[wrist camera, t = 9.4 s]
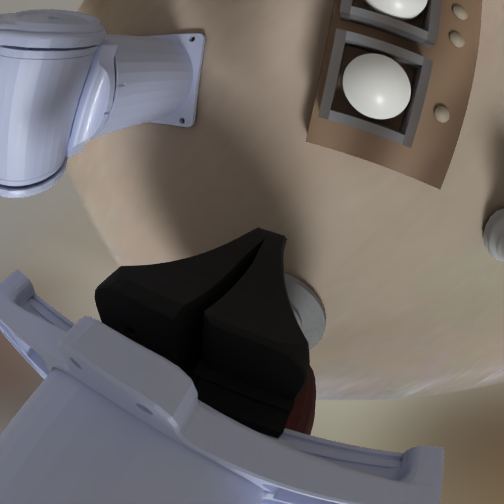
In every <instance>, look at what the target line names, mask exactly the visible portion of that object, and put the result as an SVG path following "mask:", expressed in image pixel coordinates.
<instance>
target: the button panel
mask: <svg viewBox="0 0 504 504" xmlns="http://www.w3.org/2000/svg"><path fill="white" fill-rule="evenodd" d="M481 12H482V0H427V4H426V6H425V8H424V9H423V10H422V11H421V12H420V13H419V15H418V16H417V17H416V18H415V19H413V20H411V21H409V22H403V21H400V20H397V19H394V18H391V17H388V16H385V15H382V14H379V13H376V12H372V11H370V10H369V9H368V8H367V7H366V5H365V4H364V2H363V0H334V6H333V11H332V17H331V22H330V28H329V33H328V38H327V43H326V48H325V53H324V58H323V63H322V68H321V73H320V78H319V83H318V88H317V92H316V97H315V102H314V106H313V111H312V116H311V120H310V125H309V129H308V134H307V138H306V142H310V143H313V144H317V145H320V146H324V147H327V148H330V149H334V150H337V151H340V152H343V153H347V154H350V155H353V156H356V157H359V158H362V159H365V160H368V161H370V162H373V163H376V164H379V165H382V166H384V167H387V168H390V169H392V170H395V171H397V172H400V173H403V174H405V175H408V176H410V177H412V178H415V179H417V180H420V181H422V182H424V183H427V184H429V185H431V186H434V187H436V188H438V189H441V186H442V184H443V181H444V178H445V176H446V173H447V170H448V167H449V165H450V162H451V159H452V156H453V153H454V150H455V147H456V144H457V141H458V137H459V134H460V131H461V127H462V124H463V120H464V116H465V113H466V109H467V105H468V100H469V96H470V92H471V87H472V82H473V77H474V72H475V66H476V60H477V53H478V46H479V37H480V27H481ZM370 53H374V54H381V55H384V56H387V57H389V58H391V59H393V60H394V61H395V62H397V63H398V64H399V65H400V66H401V67H402V68H403V70H404V71H405V73H406V74H407V76H408V79H409V82H410V86H411V95H410V100H409V102H408V104H407V106H406V108H405V109H404V110H403V111H402V112H401V113H400V114H398V115H397V116H395V117H392V118H388V119H374V118H371V117H368V116H365V115H364V114H362V113H360V112H359V111H357V110H356V109H355V108H354V107H353V106H352V105H351V103H350V102H349V101H348V99H347V97H346V95H345V92H344V89H343V75H344V71H345V69H346V67H347V66H348V64H349V63H350V62H351V61H352V60H353V59H355V58H356V57H358V56H361V55H364V54H370Z"/></svg>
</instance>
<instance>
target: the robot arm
mask: <svg viewBox="0 0 504 504" xmlns="http://www.w3.org/2000/svg"><path fill="white" fill-rule="evenodd" d="M193 37H195V40H194V41H193V42H192V38H193ZM205 40H206V37H205V35H203V34H201V33H186V34H167V35H155V36H145V37H144V36H133V35H118V34H107V30H106V29H105V28H104V27H103V25H102V23H101V21H100V20H99V19H98V18H96V17H94V16H91V15H88V14H84V13H79V12H73V11H66V10H53V9H40V10H27V11H21V12H17V13H7V14H0V196H2V197H9V198H21V197H27V196H32V195H35V194H38V193H40V192H43V191H44V190H46V189H48V188H50V187H51V186H53V185H54V184H55V183H56V182H57V181H58V180H59V179H60V178H61V176H62V175H63V173H64V171H65V168H66V164H67V158H68V157H71V156H73V155H75V154H78V153H80V152H82V149H83V147H84V145H85V143H86V142H87V141H89V140H91V139H94V138H96V137H99V136H102V135H105V134H108V133H111V132H114V131H117V130H120V129H124V128H127V127H130V126H134V125H137V124H141V123H144V122H150V123H159V124H167V125H175V126H182V127H191V126H193V125H194V123H195V117H196V107H197V98H198V90H199V82H200V74H201V67H202V60H203V53H204V47H205ZM182 118H184V119H185V123H183V122H182ZM286 240H287V239H286V237H285V236H283V235H280V234H277V233H274V232H271V231H267V230H264V229H261V228H256V229H254V230H252V231H250V232H248V233H247V234H245V235H243V236H241V237H239V238H237V239H235V240H233V241H231V242H229V243H227V244H225V245H223V246H220V247H218V248H216V249H214V250H211V251H208V252H206V253H203V254H199V255H196V256H193V257H190V258H185V259H181V260H176V261H172V262H166V263H160V264H152V265H140V266H120V267H119V268H118V269H117V270H116V271H115V272H113V273H112V274H111V275H110V276H109V277H108V278H107V279H106V280H104V281H103V282H102V283H101V284H100V285H99V286H98V287H97V289H96V290H95V301H96V306H97V309H98V312H99V315H100V318H101V321H102V322H100V321H98V320H96V319H93V318H91V317H88V316H84V317H83V318H81V319H80V320H79V321H78V322H77V323H76V324H74V323H73V322H71V321H70V320H69V319H67V318H66V317H64V316H63V315H61V314H60V313H59V312H58V311H56V310H55V309H54V308H53V307H51V306H50V305H49V304H48V303H46V302H45V301H44V300H43V299H41V298H40V297H39V296H37V294H35V290H34V288H33V285H32V284H31V282H30V280H29V279H28V278H27V277H26V276H25V275H24V274H23V273H21V272H20V271H19V270H16V271H14V272H13V273H12V274H11V275H9V276H8V277H7V278H6V279H5V280H3V281H2V282H1V283H0V329H1V331H2V333H3V334H4V336H5V337H6V338H7V339H8V340H9V341H10V343H11V344H12V345H13V346H14V347H15V348H16V349H17V350H18V352H19V353H20V354H21V355H22V356H23V357H24V358H25V359H26V361H27V362H28V363H29V364H30V365H31V366H32V367H33V368H34V369H35V370H36V371H37V372H38V373H39V374H40V375H41V376H42V377H43V378H44V379H45V380H44V381H43V382H42V383H41V384H40V386H39V387H38V388H37V389H36V390H35V391H34V393H33V394H32V395H31V397H30V398H29V399H28V400H27V401H26V403H25V404H24V405H23V406H22V408H21V409H20V410H19V411H18V413H17V414H16V415H15V416H14V418H13V419H12V420H11V422H10V423H9V424H8V426H7V427H6V428H5V429H4V431H3V432H2V434H1V435H0V504H439V503H440V496H441V488H442V479H443V466H444V448H443V447H431V446H417V447H413V448H411V449H409V450H407V451H406V452H405V453H398V452H390V451H383V450H376V449H370V448H364V447H359V446H354V445H349V444H344V443H339V442H335V441H330V440H326V439H322V438H318V437H314V436H311V435H307V434H303V433H300V432H296V431H293V430H290V429H286V428H285V426H286V423H287V420H288V417H289V414H290V412H291V411H292V409H293V406H294V403H295V400H296V398H297V397H298V395H299V394H300V392H301V391H302V390H303V388H304V387H305V385H306V383H307V380H308V375H309V363H310V360H309V343H308V341H307V339H306V338H305V336H304V334H303V332H302V330H301V328H300V326H299V324H298V322H297V320H296V317H295V315H294V312H293V309H292V307H291V304H290V301H289V297H288V293H287V289H286V284H285V278H284V269H283V252H284V248H285V244H286Z"/></svg>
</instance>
